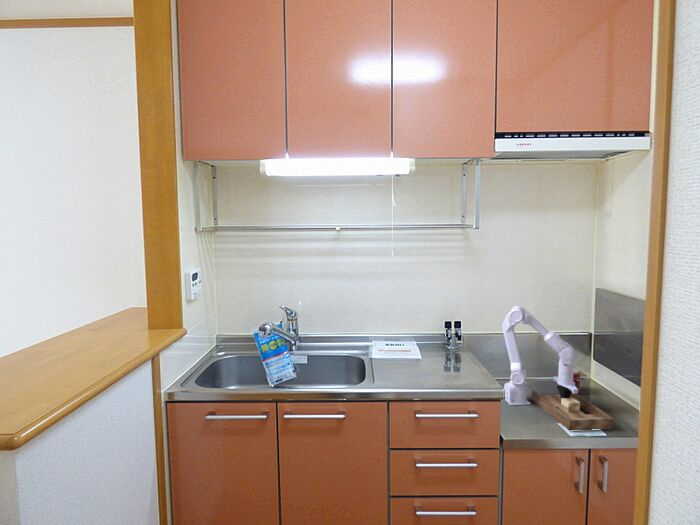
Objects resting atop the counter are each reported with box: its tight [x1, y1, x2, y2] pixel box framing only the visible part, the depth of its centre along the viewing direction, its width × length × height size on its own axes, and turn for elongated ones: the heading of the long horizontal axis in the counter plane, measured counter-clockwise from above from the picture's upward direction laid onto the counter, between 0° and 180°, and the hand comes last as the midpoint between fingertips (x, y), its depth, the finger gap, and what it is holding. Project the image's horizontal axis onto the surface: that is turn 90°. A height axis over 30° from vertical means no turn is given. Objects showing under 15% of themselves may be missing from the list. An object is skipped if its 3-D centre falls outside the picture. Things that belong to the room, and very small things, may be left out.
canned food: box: [573, 367, 581, 395], centre depth 194 cm, size 8×8×11 cm
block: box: [561, 398, 580, 412], centre depth 172 cm, size 5×5×4 cm
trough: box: [531, 390, 615, 431], centre depth 172 cm, size 18×29×4 cm, turn 4°
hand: (564, 402), depth 176 cm, fingers closed
